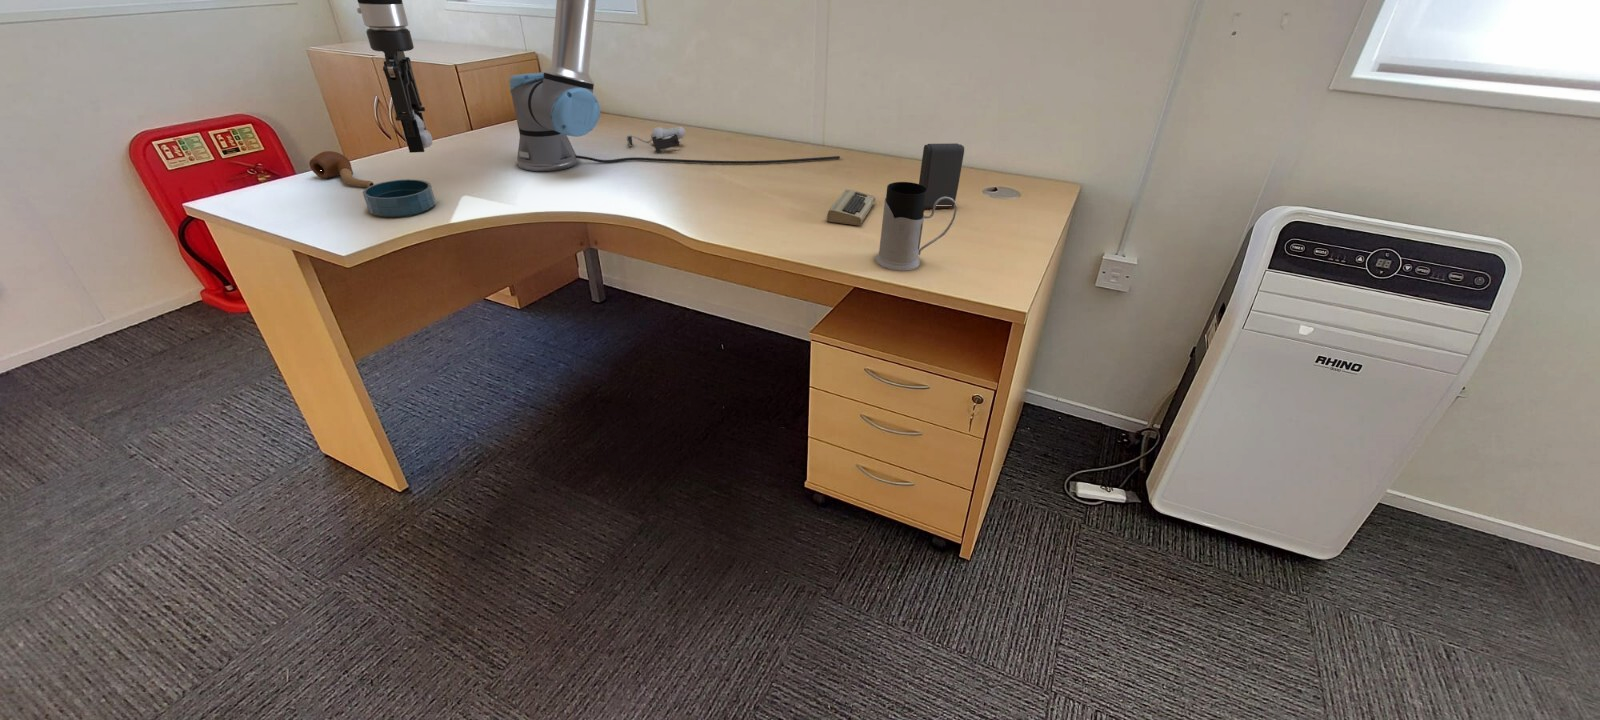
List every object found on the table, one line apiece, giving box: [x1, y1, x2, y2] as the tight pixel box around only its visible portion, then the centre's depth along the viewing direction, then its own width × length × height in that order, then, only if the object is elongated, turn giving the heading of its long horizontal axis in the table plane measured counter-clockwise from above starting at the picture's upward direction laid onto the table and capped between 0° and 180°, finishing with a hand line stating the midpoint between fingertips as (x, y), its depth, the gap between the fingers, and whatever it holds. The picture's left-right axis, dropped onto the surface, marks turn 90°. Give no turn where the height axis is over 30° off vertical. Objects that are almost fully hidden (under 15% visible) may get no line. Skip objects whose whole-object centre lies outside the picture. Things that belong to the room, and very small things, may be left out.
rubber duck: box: [402, 110, 433, 149], centre depth 136 cm, size 5×7×8 cm
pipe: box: [308, 150, 375, 188], centre depth 157 cm, size 7×19×6 cm, turn 65°
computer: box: [826, 189, 876, 227], centre depth 150 cm, size 16×8×3 cm, turn 163°
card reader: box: [918, 142, 965, 210], centre depth 153 cm, size 9×4×15 cm, turn 100°
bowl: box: [362, 178, 437, 218], centre depth 143 cm, size 13×13×4 cm
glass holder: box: [875, 181, 958, 272], centre depth 125 cm, size 9×14×15 cm, turn 85°
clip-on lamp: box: [626, 126, 686, 154], centre depth 192 cm, size 12×6×18 cm
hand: (419, 147), depth 138 cm, fingers closed on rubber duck, 6 cm apart
